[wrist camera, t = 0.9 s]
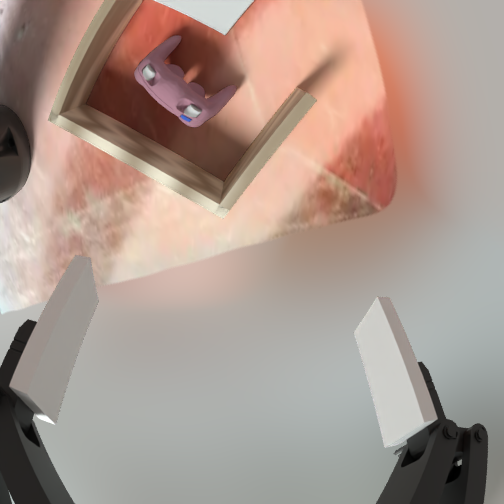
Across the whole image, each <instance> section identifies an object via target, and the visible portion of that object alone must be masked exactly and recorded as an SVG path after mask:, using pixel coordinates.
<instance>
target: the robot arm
mask: <svg viewBox="0 0 504 504" xmlns="http://www.w3.org/2000/svg"><path fill="white" fill-rule="evenodd" d="M29 169H30V148H29V142H28V138H27V135H26V132H25V129H24V127H23V125H22V123H21V121H20V120H19V118H18V117H17V115H16V114H15V113H14V112H13V111H12V110H10V109H9V108H7V107H6V106H3V105H0V203H3V202H5V201H7V200H9V199H11V198H12V197H13V196H14V195H15V194H17V193H18V192H19V191H20V190H21V189H22V187H23V186H24V184H25V182H26V180H27V177H28V174H29ZM98 302H99V300H98V296H97V291H96V286H95V281H94V275H93V270H92V264H91V258H90V257H84V256H79V255H75V257H74V258H73V260H72V261H71V263H70V265H69V266H68V268H67V270H66V271H65V273H64V275H63V276H62V278H61V280H60V281H59V283H58V285H57V286H56V288H55V290H54V292H53V294H52V295H51V297H50V299H49V301H48V303H47V304H46V306H45V308H44V310H43V312H42V314H41V316H40V318H39V320H38V322H35V321H32V320H29V319H28V320H27V321H26V322H25V323H24V324H23V325H22V326H21V327H19V329H18V331H17V333H16V335H15V337H14V341H12V343H11V345H10V349H9V350H8V352H7V354H6V356H5V358H4V361H3V363H2V365H1V367H0V504H12V502H11V498H10V495H9V492H10V494H11V496H12V499H13V501H14V503H15V504H75V503H74V502H73V500H72V498H71V497H70V495H69V493H68V492H67V490H66V488H65V486H64V485H63V483H62V481H61V479H60V477H59V476H58V474H57V472H56V470H55V468H54V466H53V464H52V462H51V460H50V458H49V456H48V453H47V452H46V449H45V447H44V445H43V442H42V440H41V438H40V435H39V433H38V431H37V428H36V426H35V423H34V421H33V420H32V419H33V415H34V414H35V415H36V416H37V417H39V418H40V419H42V420H44V421H47V422H49V423H52V424H55V425H56V423H57V419H58V415H59V412H60V408H61V405H62V401H63V398H64V394H65V392H66V388H67V385H68V382H69V379H70V376H71V373H72V370H73V367H74V364H75V361H76V358H77V356H78V353H79V350H80V347H81V345H82V342H83V339H84V337H85V334H86V332H87V329H88V327H89V324H90V321H91V319H92V317H93V314H94V312H95V309H96V307H97V305H98ZM354 335H355V338H356V341H357V345H358V348H359V351H360V355H361V358H362V362H363V365H364V369H365V372H366V376H367V379H368V383H369V386H370V390H371V394H372V398H373V401H374V405H375V409H376V413H377V417H378V421H379V425H380V429H381V434H382V438H383V442H384V447H390V446H394V445H398V444H400V443H402V442H403V441H405V440H407V445H405V446H403V447H401V448H399V449H398V450H396V451H395V453H394V454H395V455H396V454H398V453H400V452H402V453H401V454H400V455H398V457H399V459H398V462H397V464H396V466H395V468H394V470H393V472H392V474H391V476H390V478H389V480H388V482H387V484H386V486H385V488H384V490H383V492H382V494H381V495H380V497H379V499H378V501H377V503H376V504H483V503H484V495H485V486H486V475H487V457H488V435H487V431H486V429H485V427H484V426H483V425H481V424H475V425H473V426H472V427H470V428H461V427H457V425H456V423H454V422H453V421H452V420H448V419H446V417H445V415H444V412H443V409H442V406H441V403H440V400H439V397H438V394H437V392H436V390H435V386H434V384H433V382H432V379H431V376H430V373H429V371H428V369H427V368H426V367H425V365H424V364H423V363H422V362H417V360H416V357H415V355H414V352H413V350H412V347H411V345H410V342H409V340H408V338H407V335H406V333H405V331H404V329H403V326H402V324H401V322H400V319H399V317H398V315H397V313H396V310H395V308H394V306H393V304H392V302H391V300H390V298H386V297H377V298H376V299H375V301H374V303H373V304H372V306H371V307H370V309H369V310H368V312H367V314H366V315H365V317H364V319H363V320H362V321H361V323H360V324H359V326H358V327H357V329H356V330H355V332H354ZM461 459H462V465H460V466H458V465H457V461H459V460H461ZM8 490H9V491H8Z"/></svg>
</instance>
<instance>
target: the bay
mask: <svg viewBox="0 0 504 504" xmlns="http://www.w3.org/2000/svg"><path fill="white" fill-rule="evenodd" d="M142 2H143V0H104V2H103V4H102V5H101V7H100V8H99V10H98V12H97V13H96V15H95V17H94V19H93V20H92V22H91V24H90V26H89V27H88V29H87V31H86V33H85V35H84V37H83V38H82V40H81V42H80V44H79V46H78V48H77V50H76V52H75V54H74V56H73V59H72V61H71V63H70V65H69V67H68V69H67V72H66V74H65V76H64V79H63V81H62V84H61V86H60V88H59V91H58V94H57V96H56V99H55V101H54V104H53V107H52V110H51V113H50V116H49V119H48V121H50V122H52V123H53V124H55V125H57V126H59V127H61V128H63V129H64V130H66V131H68V132H70V133H72V134H73V135H75V136H77V137H79V138H81V139H83V140H84V141H86V142H88V143H90V144H92V145H93V146H95V147H97V148H99V149H101V150H102V151H104V152H106V153H108V154H110V155H111V156H113V157H115V158H117V159H119V160H120V161H122V162H124V163H126V164H128V165H129V166H131V167H133V168H135V169H136V170H138V171H140V172H142V173H143V174H145V175H147V176H149V177H151V178H152V179H154V180H156V181H158V182H159V183H161V184H163V185H165V186H166V187H168V188H170V189H172V190H173V191H175V192H177V193H179V194H180V195H182V196H184V197H186V198H187V199H189V200H191V201H193V202H194V203H196V204H198V205H200V206H201V207H203V208H205V209H207V210H208V211H210V212H212V213H214V214H215V215H217V216H219V217H220V218H222V219H224V217H225V216H226V215H227V213H228V212H229V211H230V209H231V208H232V207H233V205H234V204H235V203H236V201H237V200H238V199H239V197H240V196H241V195H242V194H243V192H244V191H245V190H246V188H247V187H248V186H249V184H250V183H251V182H252V181H253V179H254V178H255V177H256V175H257V174H258V173H259V172H260V170H261V169H262V168H263V166H264V165H265V164H266V163H267V161H268V160H269V159H270V158H271V156H272V155H273V154H274V152H275V151H276V150H277V149H278V147H279V146H280V145H281V144H282V142H283V141H284V140H285V139H286V137H287V136H288V135H289V134H290V133H291V131H292V130H293V129H294V128H295V126H296V125H297V124H298V123H299V121H300V120H301V119H302V118H303V117H304V115H305V114H306V113H307V112H308V111H309V109H310V108H311V107H312V106H313V105H314V103H315V102H316V101H317V100H316V99H315V98H314V97H312V96H311V95H310V94H308V93H307V92H305V91H303V90H301V89H299V88H298V87H296V88H295V89H294V91H293V92H292V93H291V94H290V96H289V97H288V98H287V99H286V101H285V102H284V103H283V104H282V106H281V107H280V108H279V109H278V111H277V112H276V113H275V114H274V116H273V117H272V118H271V119H270V121H269V122H268V123H267V125H266V126H265V127H264V128H263V130H262V131H261V132H260V134H259V135H258V136H257V138H256V139H255V140H254V142H253V143H252V144H251V146H250V147H249V148H248V150H247V151H246V152H245V154H244V155H243V156H242V158H241V159H240V160H239V162H238V163H237V164H236V166H235V167H234V168H233V170H232V171H231V173H230V174H229V175H228V177H227V178H226V180H225V181H224V182H223V181H222V180H220V179H218V178H217V177H215V176H213V175H212V174H210V173H208V172H207V171H205V170H203V169H202V168H200V167H198V166H197V165H195V164H193V163H192V162H190V161H188V160H186V159H185V158H183V157H181V156H180V155H178V154H176V153H174V152H173V151H171V150H169V149H167V148H166V147H164V146H162V145H160V144H159V143H157V142H155V141H153V140H151V139H150V138H148V137H146V136H144V135H143V134H141V133H139V132H137V131H135V130H133V129H132V128H130V127H128V126H126V125H124V124H123V123H121V122H119V121H117V120H115V119H113V118H111V117H110V116H108V115H106V114H104V113H102V112H100V111H98V110H96V109H94V108H92V107H91V106H89V105H87V104H86V102H87V100H88V97H89V95H90V93H91V91H92V89H93V87H94V84H95V82H96V80H97V78H98V76H99V74H100V72H101V70H102V68H103V66H104V64H105V62H106V61H107V59H108V57H109V55H110V53H111V51H112V49H113V48H114V46H115V44H116V42H117V41H118V39H119V37H120V36H121V34H122V32H123V31H124V29H125V27H126V26H127V24H128V23H129V21H130V20H131V18H132V16H133V15H134V13H135V12H136V10H137V9H138V7H139V6H140V5H141V3H142Z"/></svg>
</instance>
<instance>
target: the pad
mask: <svg viewBox="0 0 504 504" xmlns="http://www.w3.org/2000/svg"><path fill="white" fill-rule="evenodd" d="M154 1H156V2H159V3H161V4H163V5H166V6H168V7H170V8H172V9H174V10H177V11H179V12H181V13H183V14H185V15H187V16H189V17H191V18H193V19H195V20H197V21H199V22H201V23H203V24H205V25H207V26H209V27H211V28H213V29H215V30H216V31H218V32H220V33H222V34H224V35H226V34H227V33H228V32H229V30H230V29H231V28H232V27H233V25H234V24H235V23H236V22H237V20H238V19H239V18H240V17H241V16H242V14H243V13H244V12H245V11H246V10H247V8H248V7H249V6H250V5H251V4H252V3H253V2H254V0H154Z"/></svg>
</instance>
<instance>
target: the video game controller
mask: <svg viewBox="0 0 504 504" xmlns="http://www.w3.org/2000/svg"><path fill="white" fill-rule="evenodd" d="M180 41H181V36H178V35H176V36H172V37H170V38H168V39H167V40H166V41H164V42H163V43H161V44H160V45H159V46H157V47H156V48H155V49H154V50H152V51H151V52H150V53H149V54H148V55H147V56H146V57H145V58H144V59H143V60H142V61H141V62H140V63H139V65H138V67H137V68H136V70H135V72H134V75H135V78H136V80H137V81H138V83H139V84H141V85H142V86H144V88H145V89H146V90H147V91H148V93H149V94H150V95H151V96H152V97H153V98H154V99H155V100H156V101H157V102H158V103H159V104H161V105H162V106H163V107H165V108H166V109H167V110H169V111H170V112H171V113H173V114H175V115H176V116H178V117H179V119H180V120H181V121H182V122H183V123H184V124H186V125H188V126H190V127H199V126H201V125H202V124H203V123H204V122H206V121H207V120H209V119H210V118H212V117H213V116H215V115H216V114H217V113H218V112H219V111H220V110H221V109H222V108H223V107H224V106H225V105H226V104H227V102H228V101H229V100H230V99H231V98H232V97H233V95H234V94H235V92H236V89H237V87H236V86H235V85H229V86H227V87H225V88H224V89H222V90H221V91H219V92H218V93H217V94H215V95H213V96H212V97H210V98H207V99H205V91H204V89H203V87H201V86H200V85H199V84H197V83H194V82H190V83H189V84H187V83H186V82H185V81H184V80H183V79H182V78H183V77H184V72H183V70H182V69H181V68H180V67H179V66H177V65H174V64H165V63H164V61H165V60H166V58H167V57H168V55H169V54H170V53H171V52H172V51H173V50H174V49H175V48H176V47H177V45H178V44H179V43H180Z"/></svg>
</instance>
